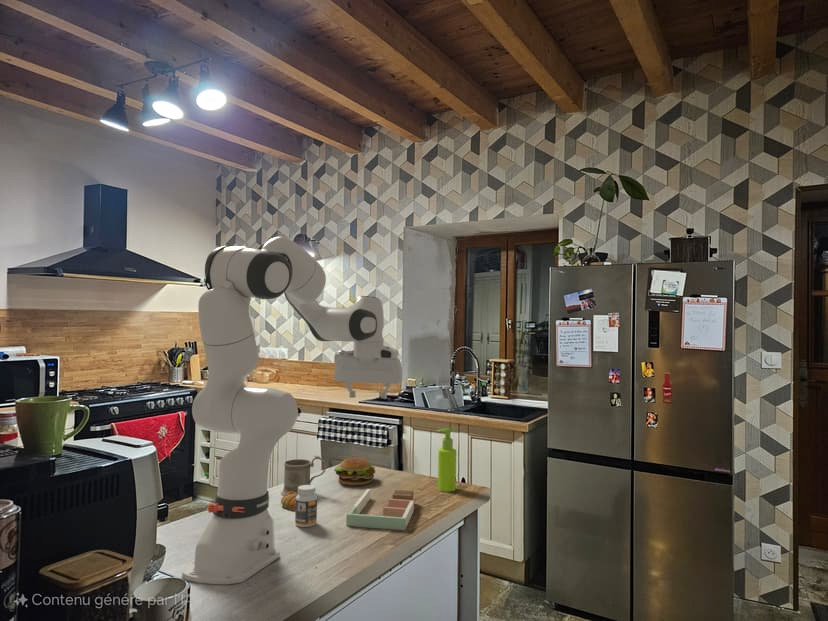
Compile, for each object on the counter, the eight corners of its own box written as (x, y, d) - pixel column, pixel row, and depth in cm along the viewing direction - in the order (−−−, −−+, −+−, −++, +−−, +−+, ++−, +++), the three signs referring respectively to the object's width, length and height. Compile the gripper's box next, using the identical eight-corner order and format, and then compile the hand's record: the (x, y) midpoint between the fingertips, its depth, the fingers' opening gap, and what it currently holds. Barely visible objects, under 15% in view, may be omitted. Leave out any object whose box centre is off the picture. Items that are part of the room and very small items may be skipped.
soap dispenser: (432, 488, 187) (433, 428, 187) (450, 486, 190) (451, 426, 190) (440, 493, 181) (441, 431, 182) (458, 490, 184) (459, 430, 185)
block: (410, 509, 165) (410, 496, 165) (392, 508, 166) (392, 494, 166) (413, 503, 171) (413, 490, 171) (395, 502, 172) (395, 489, 172)
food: (346, 474, 202) (346, 452, 203) (380, 479, 197) (381, 456, 197) (325, 483, 190) (326, 460, 190) (362, 489, 184) (363, 465, 185)
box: (404, 530, 148) (405, 518, 148) (346, 525, 151) (346, 514, 151) (417, 502, 172) (418, 492, 172) (367, 498, 174) (367, 488, 174)
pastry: (315, 509, 164) (315, 496, 164) (295, 514, 159) (296, 501, 159) (297, 501, 171) (297, 489, 171) (277, 506, 166) (278, 493, 166)
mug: (275, 496, 175) (276, 457, 175) (288, 487, 185) (289, 450, 185) (319, 499, 172) (320, 460, 173) (330, 490, 182) (331, 453, 182)
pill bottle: (311, 528, 148) (312, 491, 148) (291, 526, 149) (292, 489, 149) (319, 521, 153) (320, 485, 154) (300, 519, 155) (301, 483, 155)
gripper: (331, 351, 164) (330, 398, 164) (400, 352, 161) (399, 400, 161) (337, 349, 170) (336, 395, 170) (403, 351, 167) (403, 397, 167)
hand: (368, 397), depth 166 cm, fingers open, 8 cm apart
